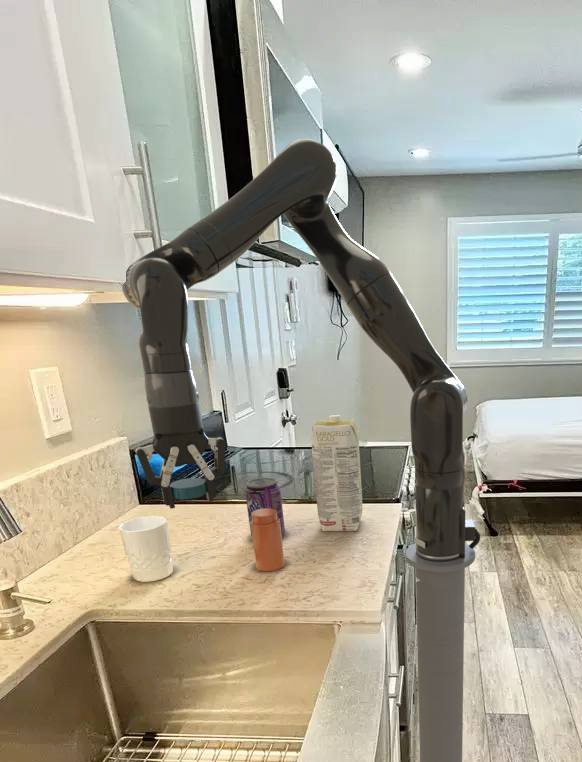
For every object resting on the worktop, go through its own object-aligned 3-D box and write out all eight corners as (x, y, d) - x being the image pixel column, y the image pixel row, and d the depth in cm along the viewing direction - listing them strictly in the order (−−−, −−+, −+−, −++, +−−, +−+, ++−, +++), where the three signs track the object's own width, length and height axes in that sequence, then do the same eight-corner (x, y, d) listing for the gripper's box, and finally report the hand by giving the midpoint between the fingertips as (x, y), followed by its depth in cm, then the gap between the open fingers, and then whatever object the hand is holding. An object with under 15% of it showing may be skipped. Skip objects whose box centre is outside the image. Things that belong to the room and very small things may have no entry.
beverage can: (247, 534, 122) (240, 480, 118) (280, 528, 125) (273, 475, 121) (256, 545, 116) (248, 488, 112) (289, 538, 119) (283, 483, 115)
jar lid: (169, 492, 96) (167, 481, 95) (203, 486, 98) (202, 476, 98) (174, 501, 91) (172, 490, 91) (210, 495, 94) (208, 484, 93)
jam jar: (287, 559, 109) (281, 507, 105) (281, 571, 104) (274, 516, 100) (260, 560, 109) (253, 507, 105) (253, 571, 105) (245, 517, 101)
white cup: (183, 573, 105) (174, 522, 101) (140, 587, 100) (128, 534, 96) (165, 561, 110) (155, 512, 106) (123, 574, 105) (111, 524, 101)
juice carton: (364, 519, 128) (358, 412, 119) (361, 532, 121) (354, 419, 112) (323, 520, 129) (313, 413, 120) (317, 533, 122) (307, 420, 113)
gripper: (215, 394, 95) (229, 491, 101) (121, 402, 89) (142, 505, 95) (225, 399, 89) (239, 502, 95) (125, 409, 83) (148, 518, 89)
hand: (191, 503), depth 95 cm, fingers closed on jar lid, 5 cm apart
